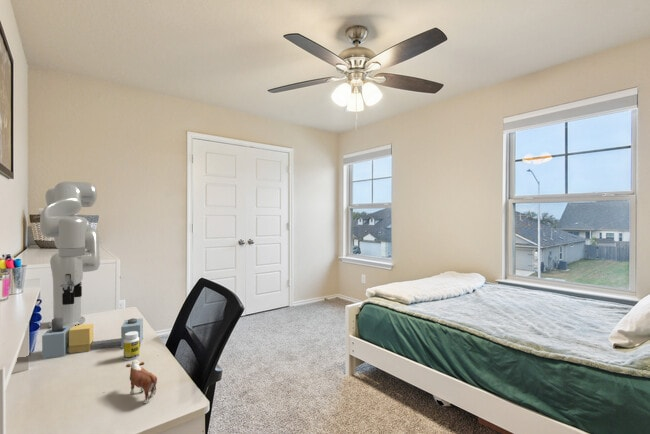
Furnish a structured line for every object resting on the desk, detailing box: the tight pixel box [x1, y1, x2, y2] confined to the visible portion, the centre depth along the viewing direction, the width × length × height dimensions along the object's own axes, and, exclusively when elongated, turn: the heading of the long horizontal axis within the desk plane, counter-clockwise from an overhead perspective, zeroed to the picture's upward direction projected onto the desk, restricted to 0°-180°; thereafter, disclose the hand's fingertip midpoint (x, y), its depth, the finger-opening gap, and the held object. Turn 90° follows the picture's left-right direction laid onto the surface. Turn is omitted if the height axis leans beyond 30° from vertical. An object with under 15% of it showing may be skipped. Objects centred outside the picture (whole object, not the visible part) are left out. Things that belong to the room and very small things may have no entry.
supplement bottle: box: [123, 331, 140, 361], centre depth 114 cm, size 5×5×8 cm
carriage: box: [68, 323, 94, 354], centre depth 120 cm, size 5×6×8 cm
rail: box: [66, 337, 121, 354], centre depth 121 cm, size 3×17×2 cm, turn 112°
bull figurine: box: [125, 359, 158, 404], centre depth 92 cm, size 4×13×8 cm, turn 51°
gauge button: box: [51, 318, 63, 332], centre depth 117 cm, size 3×3×4 cm
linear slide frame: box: [41, 318, 144, 360], centre depth 121 cm, size 8×29×9 cm, turn 112°
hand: (72, 300), depth 118 cm, fingers open, 9 cm apart
